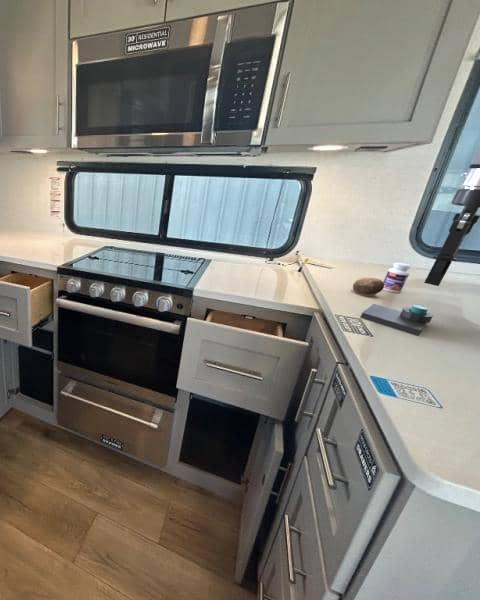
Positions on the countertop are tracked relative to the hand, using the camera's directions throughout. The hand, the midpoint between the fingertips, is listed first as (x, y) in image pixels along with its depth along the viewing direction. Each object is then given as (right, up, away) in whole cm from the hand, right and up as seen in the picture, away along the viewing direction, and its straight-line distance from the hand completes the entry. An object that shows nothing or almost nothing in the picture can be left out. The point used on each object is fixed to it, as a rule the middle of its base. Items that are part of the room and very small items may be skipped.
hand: (431, 283), depth 86 cm
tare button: (0, -8, +3) cm, 8 cm away
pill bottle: (+18, -1, +30) cm, 35 cm away
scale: (-6, -10, +5) cm, 13 cm away
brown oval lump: (+4, -2, +25) cm, 25 cm away
